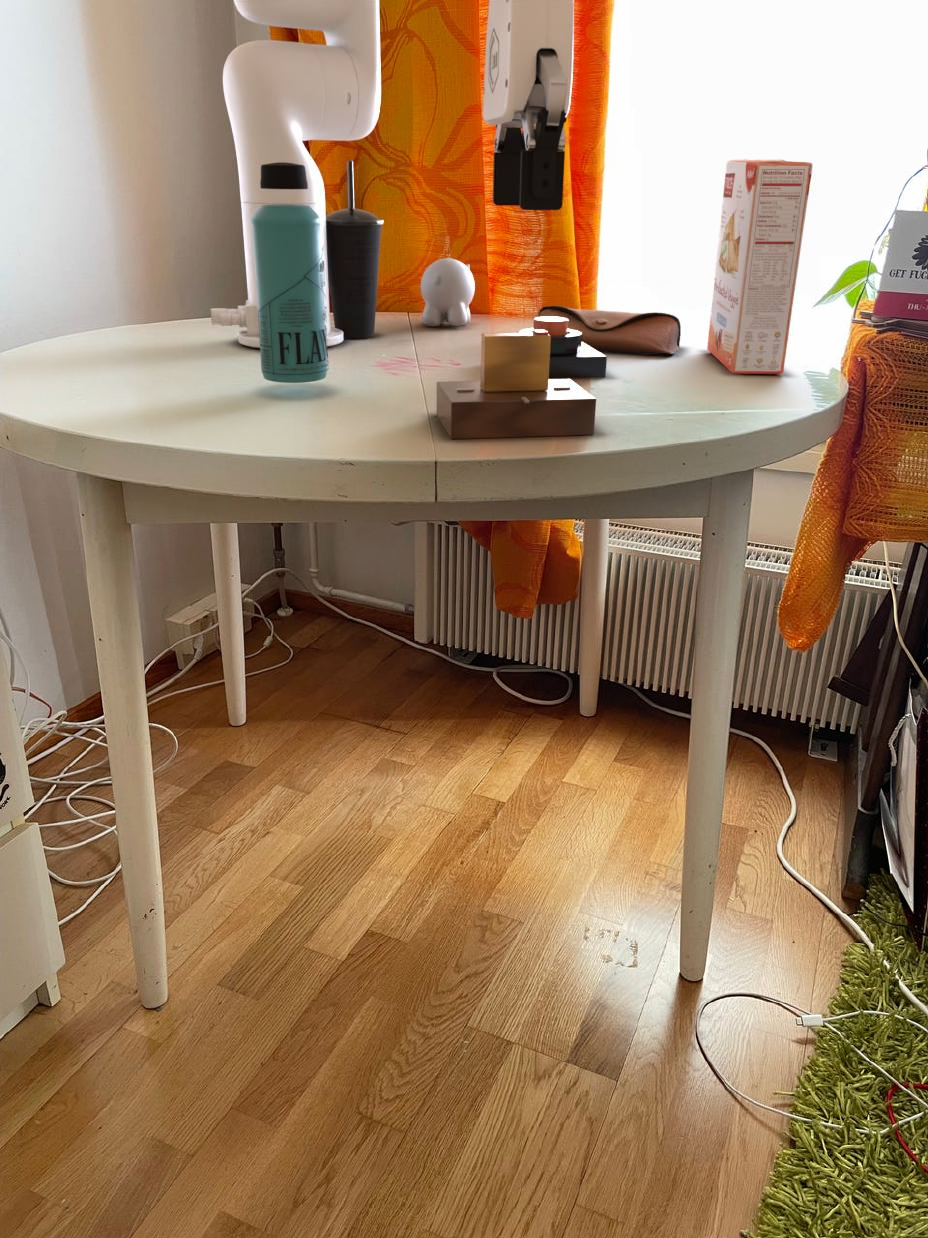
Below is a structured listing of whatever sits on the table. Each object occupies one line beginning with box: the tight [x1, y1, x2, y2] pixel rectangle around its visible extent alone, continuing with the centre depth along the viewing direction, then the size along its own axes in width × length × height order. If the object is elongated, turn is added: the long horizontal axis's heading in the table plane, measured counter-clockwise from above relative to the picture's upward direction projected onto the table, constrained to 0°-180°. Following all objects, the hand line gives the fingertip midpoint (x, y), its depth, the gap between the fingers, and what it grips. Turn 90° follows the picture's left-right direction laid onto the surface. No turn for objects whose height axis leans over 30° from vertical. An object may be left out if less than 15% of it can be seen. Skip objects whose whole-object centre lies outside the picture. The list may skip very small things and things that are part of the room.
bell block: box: [518, 327, 608, 379], centre depth 105 cm, size 10×9×4 cm
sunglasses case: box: [537, 305, 682, 355], centre depth 119 cm, size 18×7×7 cm
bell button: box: [533, 316, 568, 336], centre depth 104 cm, size 4×4×2 cm
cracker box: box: [706, 158, 814, 375], centre depth 107 cm, size 14×6×21 cm, turn 178°
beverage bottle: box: [251, 162, 330, 384], centre depth 91 cm, size 6×7×20 cm
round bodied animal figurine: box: [420, 257, 476, 327], centre depth 134 cm, size 7×12×8 cm, turn 165°
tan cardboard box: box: [480, 330, 551, 392], centre depth 82 cm, size 6×2×5 cm, turn 100°
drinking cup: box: [326, 160, 385, 340], centre depth 120 cm, size 8×8×20 cm
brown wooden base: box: [436, 378, 597, 440], centre depth 84 cm, size 12×10×3 cm
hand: (525, 207), depth 78 cm, fingers open, 9 cm apart
